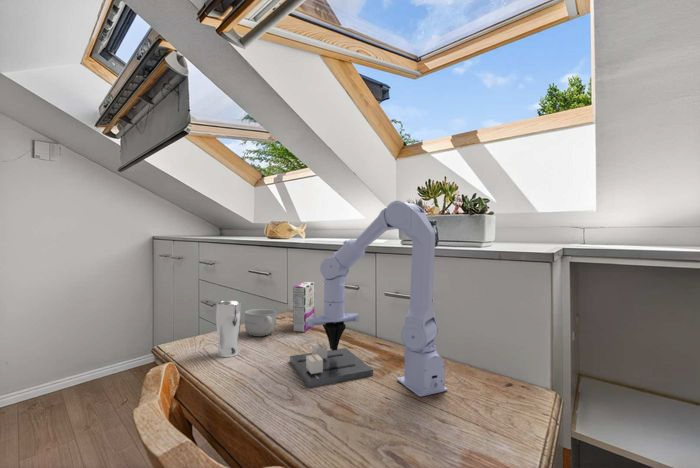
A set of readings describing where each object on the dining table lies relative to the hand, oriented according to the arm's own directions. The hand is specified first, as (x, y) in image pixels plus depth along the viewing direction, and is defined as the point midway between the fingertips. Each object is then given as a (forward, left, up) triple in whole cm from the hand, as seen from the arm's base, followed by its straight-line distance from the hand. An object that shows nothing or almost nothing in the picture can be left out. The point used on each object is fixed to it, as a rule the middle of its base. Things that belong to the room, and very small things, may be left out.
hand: (333, 349), depth 94 cm
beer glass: (+17, +26, -4) cm, 31 cm away
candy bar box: (+34, -2, -4) cm, 34 cm away
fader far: (0, +4, -1) cm, 4 cm away
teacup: (+31, +14, -4) cm, 34 cm away
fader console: (-4, +3, -3) cm, 6 cm away
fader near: (-8, +8, -1) cm, 12 cm away
